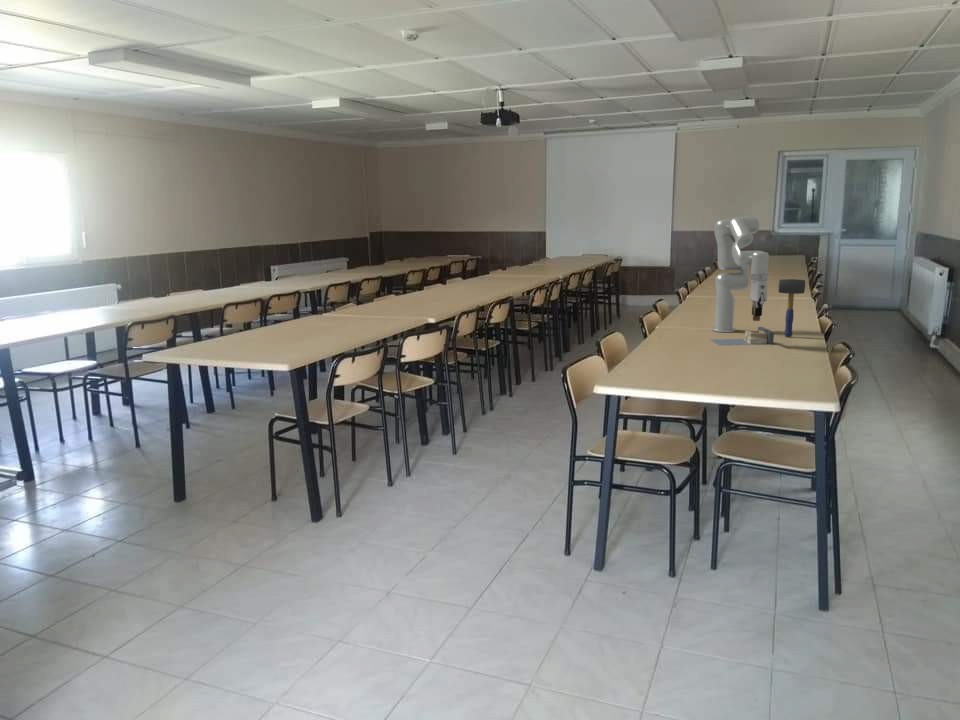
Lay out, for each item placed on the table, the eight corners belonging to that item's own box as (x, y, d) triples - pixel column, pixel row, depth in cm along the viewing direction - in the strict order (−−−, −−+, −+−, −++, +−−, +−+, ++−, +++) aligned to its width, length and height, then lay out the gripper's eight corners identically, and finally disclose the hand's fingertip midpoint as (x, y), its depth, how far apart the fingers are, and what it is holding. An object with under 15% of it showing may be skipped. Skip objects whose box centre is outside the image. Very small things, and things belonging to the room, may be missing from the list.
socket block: (744, 340, 350) (745, 330, 349) (760, 340, 350) (761, 330, 348) (750, 343, 342) (750, 333, 341) (766, 343, 342) (767, 333, 341)
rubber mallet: (801, 336, 365) (805, 278, 359) (801, 338, 358) (805, 280, 352) (775, 335, 370) (779, 278, 364) (774, 337, 363) (778, 279, 357)
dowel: (751, 320, 346) (753, 295, 343) (758, 319, 346) (759, 295, 343) (754, 321, 343) (755, 296, 340) (760, 320, 342) (762, 296, 340)
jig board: (709, 342, 354) (710, 327, 353) (761, 341, 354) (762, 326, 353) (719, 348, 340) (719, 333, 338) (772, 347, 339) (774, 332, 338)
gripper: (773, 279, 332) (771, 317, 335) (760, 276, 348) (758, 312, 352) (757, 279, 332) (755, 318, 336) (745, 276, 348) (742, 313, 352)
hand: (756, 314), depth 344 cm, fingers closed on dowel, 3 cm apart
